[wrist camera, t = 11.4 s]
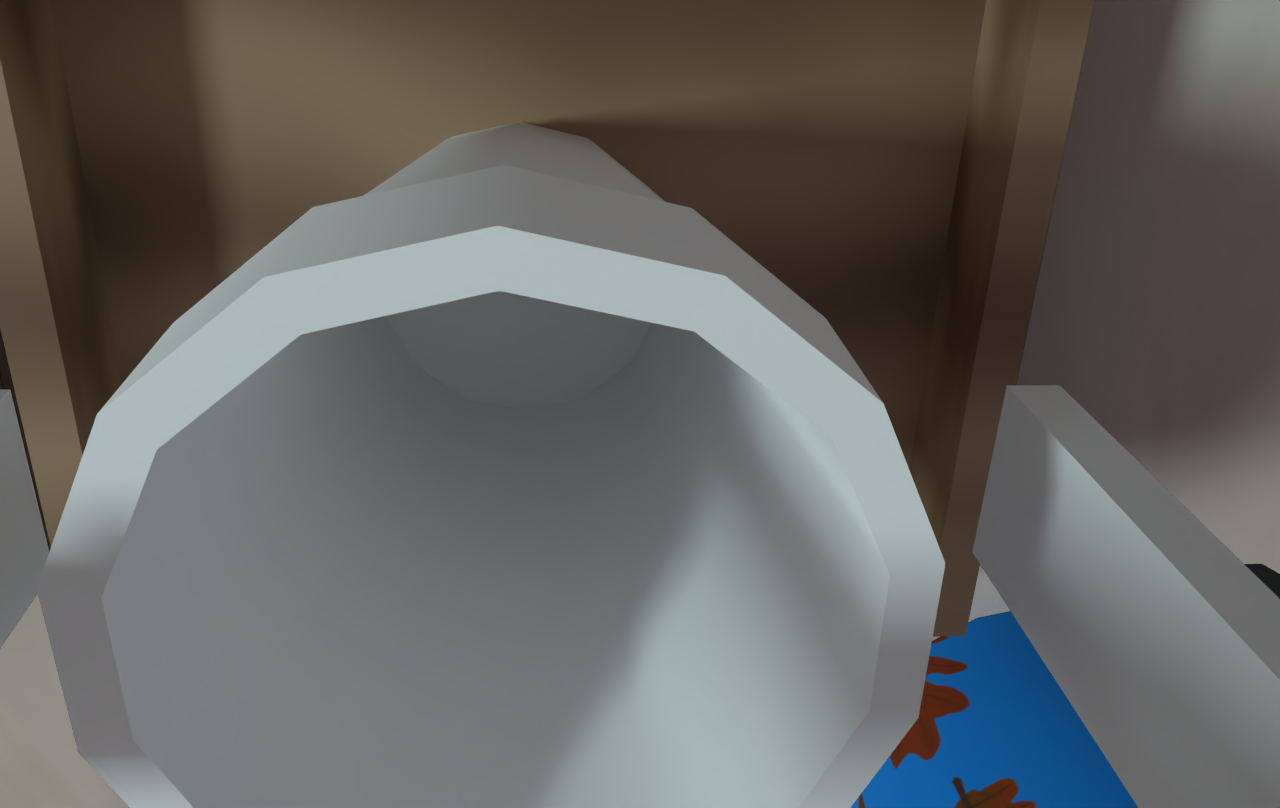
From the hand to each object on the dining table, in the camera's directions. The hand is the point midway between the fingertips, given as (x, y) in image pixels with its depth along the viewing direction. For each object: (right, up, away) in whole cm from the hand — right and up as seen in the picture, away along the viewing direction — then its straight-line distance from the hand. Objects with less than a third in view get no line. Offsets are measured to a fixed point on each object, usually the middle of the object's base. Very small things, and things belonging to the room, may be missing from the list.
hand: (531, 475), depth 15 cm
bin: (-1, +4, +10) cm, 10 cm away
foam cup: (-1, +4, +9) cm, 10 cm away
